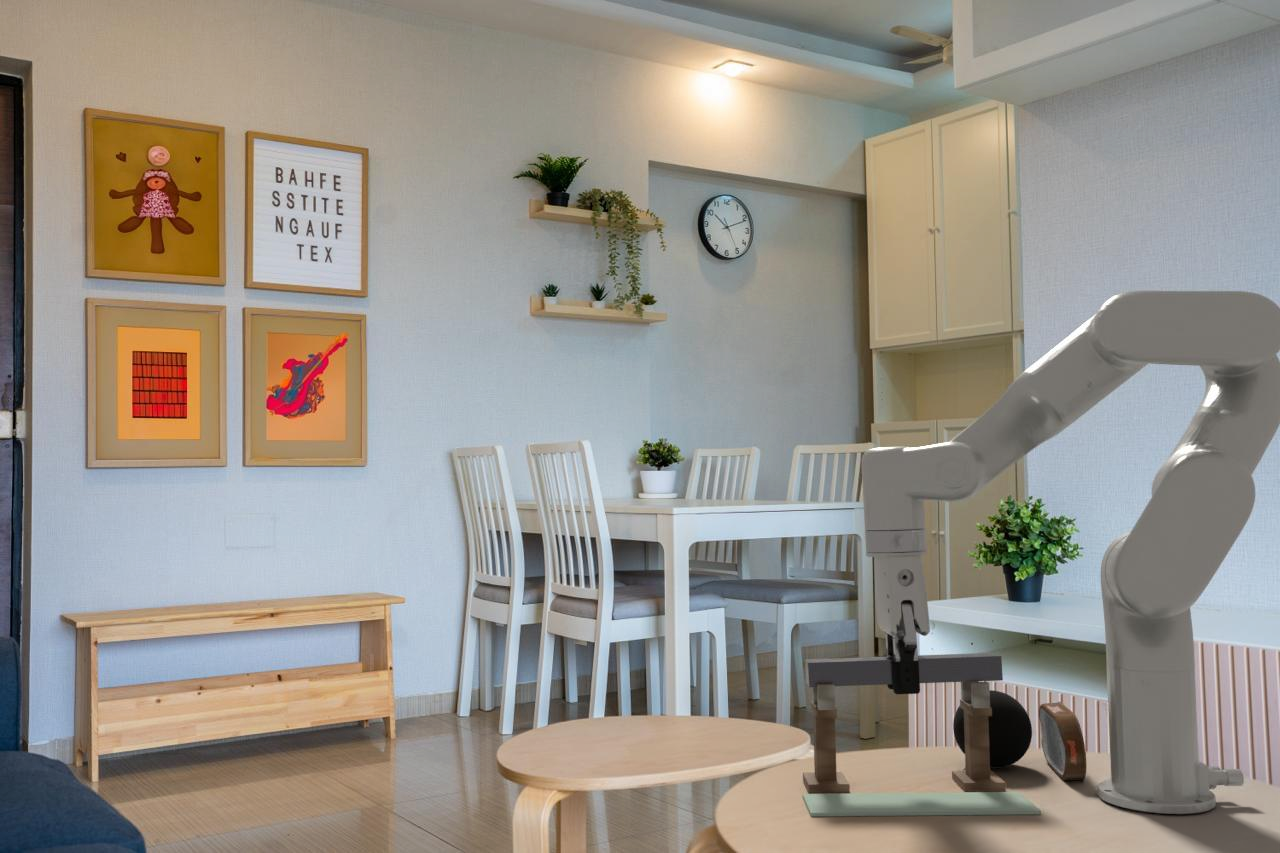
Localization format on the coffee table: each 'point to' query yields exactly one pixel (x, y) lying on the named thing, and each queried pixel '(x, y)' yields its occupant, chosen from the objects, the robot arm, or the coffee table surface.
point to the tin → (1062, 741)
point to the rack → (972, 779)
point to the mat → (919, 804)
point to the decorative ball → (1001, 730)
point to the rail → (881, 669)
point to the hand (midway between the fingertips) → (903, 689)
